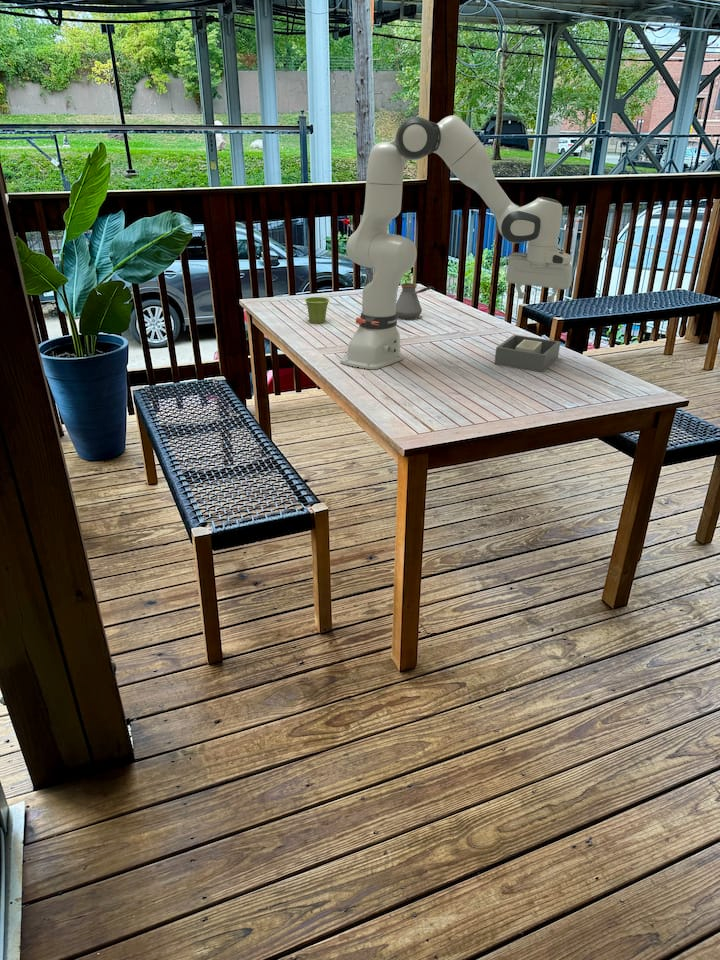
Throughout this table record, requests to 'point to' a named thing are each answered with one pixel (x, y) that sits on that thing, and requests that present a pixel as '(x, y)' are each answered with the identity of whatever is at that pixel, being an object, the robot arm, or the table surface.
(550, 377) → the table surface
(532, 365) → the big crate
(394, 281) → the robot arm
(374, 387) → the table surface
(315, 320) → the plant pot
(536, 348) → the small crate
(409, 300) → the coffee pot
